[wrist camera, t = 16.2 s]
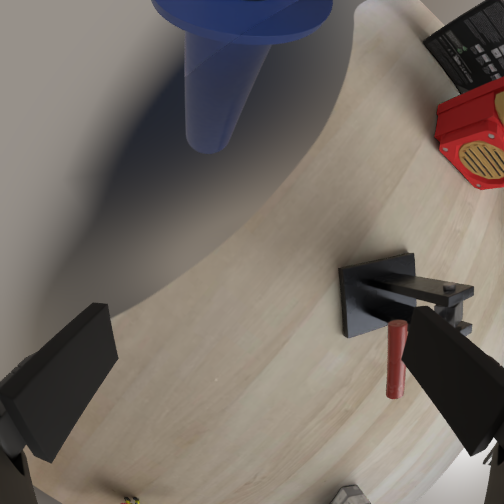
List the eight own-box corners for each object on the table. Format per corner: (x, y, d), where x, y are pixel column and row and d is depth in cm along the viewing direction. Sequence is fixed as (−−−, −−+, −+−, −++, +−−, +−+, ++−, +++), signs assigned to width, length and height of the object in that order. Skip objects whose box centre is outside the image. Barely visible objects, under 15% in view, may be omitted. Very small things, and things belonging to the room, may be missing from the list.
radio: (427, 143, 38) (527, 111, 18) (436, 101, 38) (519, 63, 19) (478, 196, 41) (565, 187, 21) (484, 153, 41) (561, 137, 22)
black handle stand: (343, 335, 36) (417, 380, 21) (338, 268, 35) (420, 284, 21) (411, 312, 38) (487, 338, 24) (408, 252, 37) (491, 259, 23)
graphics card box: (478, 99, 41) (570, 66, 15) (471, 112, 41) (573, 78, 14) (430, 35, 38) (515, -19, 12) (419, 43, 38) (513, -18, 11)
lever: (377, 394, 19) (402, 402, 17) (378, 324, 19) (407, 329, 17) (442, 333, 26) (461, 335, 24) (443, 280, 25) (463, 280, 23)
